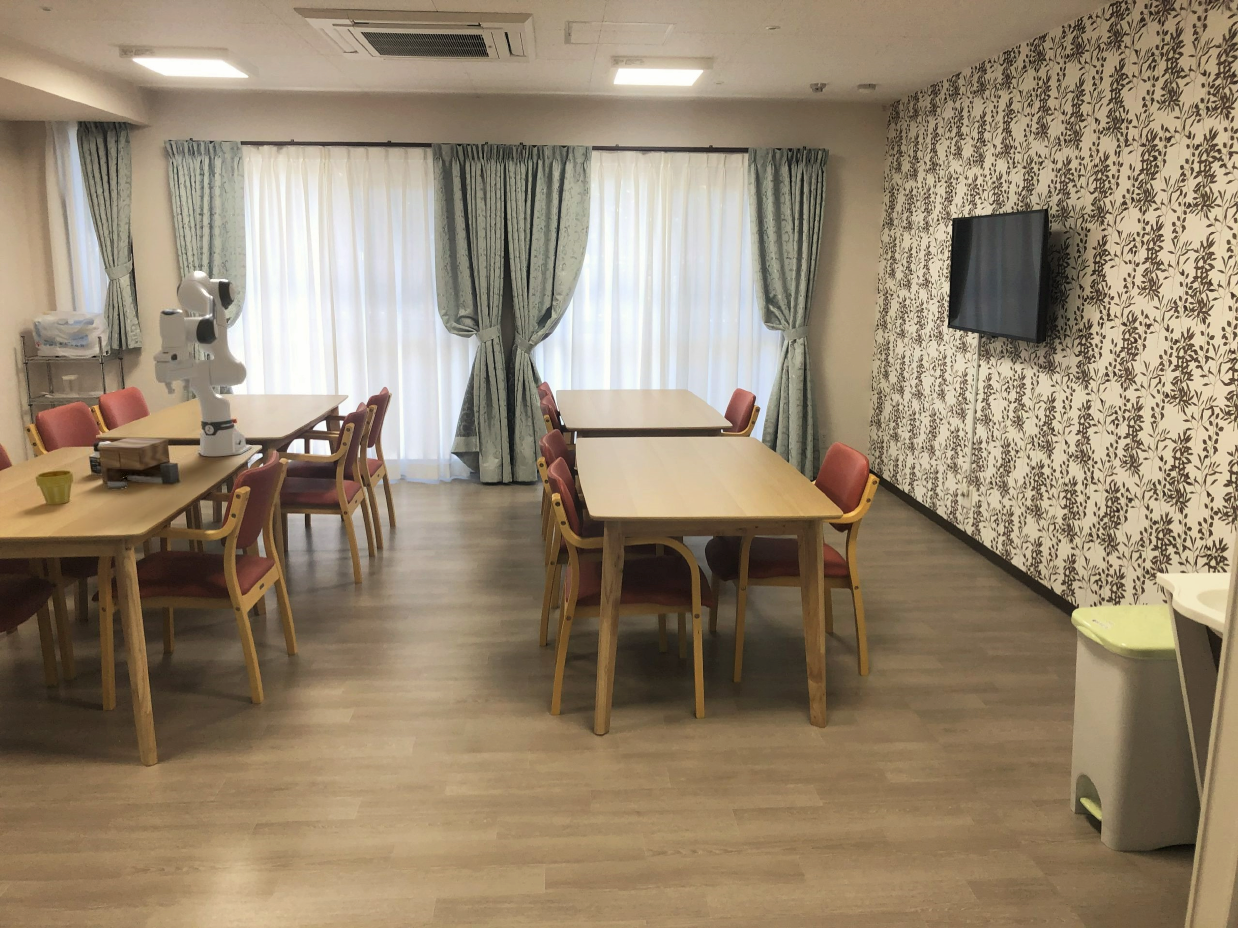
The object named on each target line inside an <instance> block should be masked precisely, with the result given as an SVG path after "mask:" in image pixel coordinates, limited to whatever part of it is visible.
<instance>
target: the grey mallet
mask: <svg viewBox="0 0 1238 928" xmlns="http://www.w3.org/2000/svg"><path fill="white" fill-rule="evenodd" d="M160 468H161V475H154V474H143V473H134V474H130V475H127V477H126V478H127V481H128V480H132V481H131V482H138V481H141V482H140V483H151V484H161V485H175V484H177V483H181V482H180V473H179V471H180V470H179V463H178V462H170V463H169V462H168V463H165V464H161V465H160Z"/></svg>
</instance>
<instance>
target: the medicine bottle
mask: <svg viewBox="0 0 1238 928" xmlns="http://www.w3.org/2000/svg"><path fill="white" fill-rule="evenodd" d="M108 443H111V441H109V440H99V441H95V442H94V443H93V445H92V446H93V452H94V454H90V455H89V456H88V459H89V467H90V474H91V475H97V474H98V476H102V472H101V463H100V455H99V449H98V448H97V446H100V445H104V444H108Z"/></svg>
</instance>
